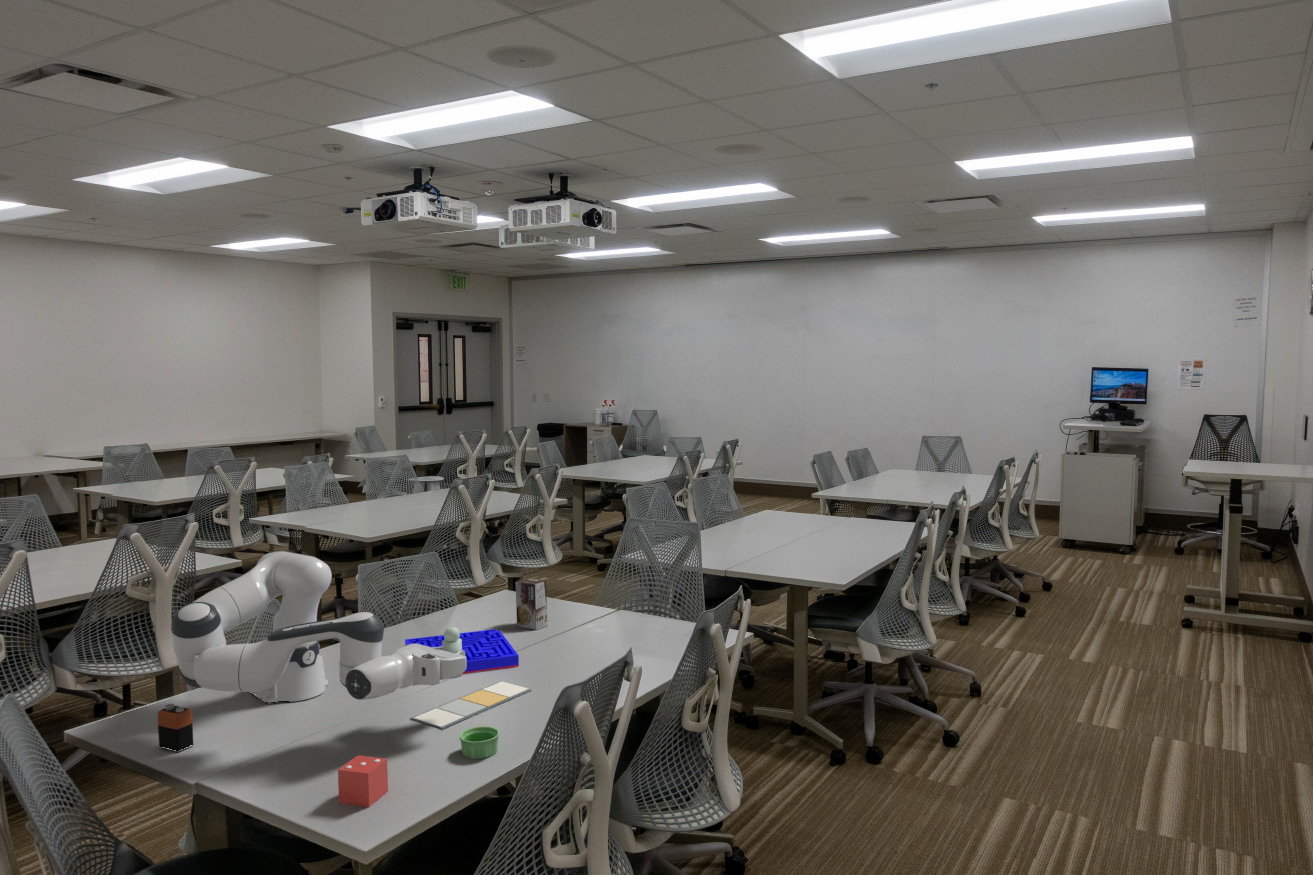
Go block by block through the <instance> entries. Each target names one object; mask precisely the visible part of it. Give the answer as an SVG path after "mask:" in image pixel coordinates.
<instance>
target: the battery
mask: <svg viewBox="0 0 1313 875" xmlns="http://www.w3.org/2000/svg"><path fill="white" fill-rule="evenodd" d="M156 715H157V730H158V732H157V733H158V747H159V746H160V747H165V748H169V749H172V750H176V751H179V750H181V749H184V748H186V747H189V746H190V745H193V746H194V728H193V727H194V726H193V725H194V724H193V710H192V708H188V707H184V706H178V705H175V704H174V703H168V704H165V705H164V708H162V709H159V710H158V711H157V714H156Z"/></svg>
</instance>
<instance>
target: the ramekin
mask: <svg viewBox="0 0 1313 875" xmlns="http://www.w3.org/2000/svg"><path fill="white" fill-rule="evenodd" d="M499 736H500V731H499V730H498V728H495V727H493V726H492V727H491V726H473V727H469V728H467V729H464V730H463V731H461V733H460V734H459V740H460V745H461V746H460V747H461V753H462V756H464V757H465V758H468V759H472V760H481V759H487V758H489V757H492V756H494V755H495V754H496V753H497V752H498V748H499V747H498V744H499Z"/></svg>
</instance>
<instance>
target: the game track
mask: <svg viewBox="0 0 1313 875" xmlns="http://www.w3.org/2000/svg"><path fill="white" fill-rule="evenodd" d="M531 691H532V689H530V688H528V687H525V686H520V685H516V684H513V683H509V682H505V681H498V682H495V683H493V684H491V685H488V686H486V687H483V688H480V689H478V690H476V691H473V692H471V693H468V694H466V695H463V696H461V697H458V698H456V699H454V700H452V701H451V700H450V701H449V702H446V703H444V704H442V705H439V706H436V707H433V708H432V709H429V710H426V711H424V712H422V713H420V714H417V715H415V716H412V717H410V720H412V721H416V722H418V723H421V724H425V725H428V726H430V727H433V726H434V728H436V727H437V729H440V730H446V729H447V728H450V727H452V726H454V725H456V724H459V723H461V722H463V720H464V721H466V720H468V719H470V718H473V717H475V716H478V715H479V713H480V714H482V713H484V712H486V711H488V709H489V710H491V709H493V708H495V706H496V707H497V705H498V706H500V705H501V704H504V702H505V703H506V701H507V702H509V701H512V700H514V699H515V698H519V697H520V696H523V695H525V694H527V693H529V692H531ZM490 708H491V709H490ZM485 710H486V711H485ZM483 711H484V712H483ZM481 712H482V713H481ZM474 715H475V716H474ZM472 716H473V717H472Z"/></svg>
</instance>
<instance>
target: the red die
mask: <svg viewBox="0 0 1313 875" xmlns="http://www.w3.org/2000/svg"><path fill="white" fill-rule="evenodd" d="M388 774H389V772H388V758H383V757H375V756H367V755H356V756H355V757H354V758H352V759H350V760H349V761H348V762H347V763H345V764H344V765H343V766H341V767H340V768H339V769H337V782H338V786H337V787H338V804H345V805H351V806H360V807H366V808H370V807H371V806H372V805H373V804H374V803H376V802H377V801H378V800H380V799H381V798H382V797H383V796H384V795H385V794H387V793H388V792H389V780H388V779H389V778H388V777H389V776H388Z"/></svg>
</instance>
